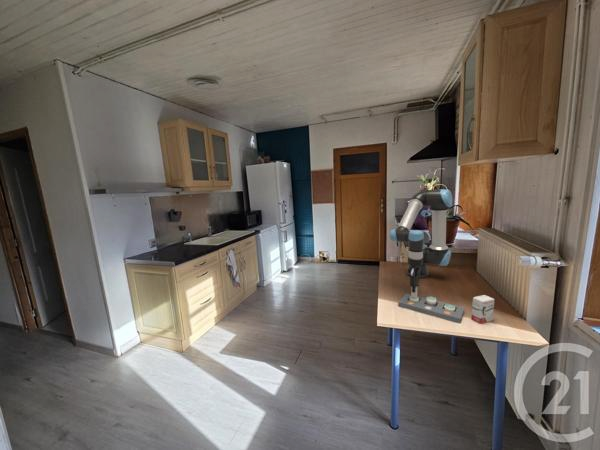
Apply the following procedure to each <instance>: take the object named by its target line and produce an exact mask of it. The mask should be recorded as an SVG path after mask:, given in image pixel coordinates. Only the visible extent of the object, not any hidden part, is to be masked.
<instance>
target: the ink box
mask: <svg viewBox="0 0 600 450" xmlns="http://www.w3.org/2000/svg"><path fill="white" fill-rule="evenodd" d="M494 307H495V298H493V297H490V296H488V295H486V294H482V295H477V296H474V297H472V306H471V320H473V321H474V322H476V323H479V324H485V323H488V322H493V319H494Z"/></svg>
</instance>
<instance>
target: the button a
mask: <svg viewBox="0 0 600 450" xmlns="http://www.w3.org/2000/svg"><path fill="white" fill-rule="evenodd" d="M410 301H414V302H419V298H418V297H417V298H414V297H411V296H410Z"/></svg>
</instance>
